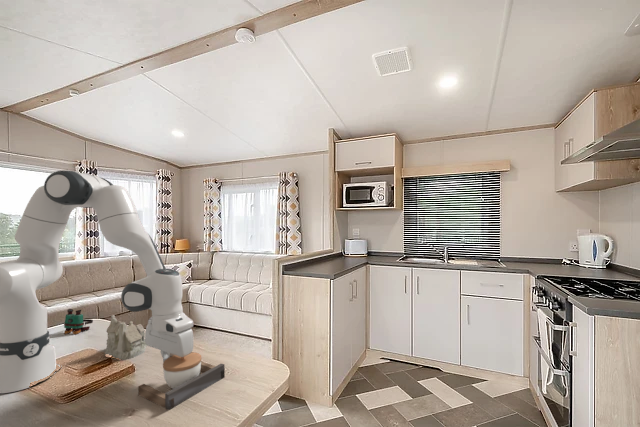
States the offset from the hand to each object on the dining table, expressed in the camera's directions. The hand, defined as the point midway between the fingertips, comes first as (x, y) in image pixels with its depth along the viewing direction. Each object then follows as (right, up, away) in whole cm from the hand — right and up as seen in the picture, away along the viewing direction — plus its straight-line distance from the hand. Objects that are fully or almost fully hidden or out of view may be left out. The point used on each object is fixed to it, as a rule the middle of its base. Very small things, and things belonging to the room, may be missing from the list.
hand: (168, 364), depth 97 cm
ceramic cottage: (-26, -6, +22) cm, 35 cm away
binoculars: (-64, -7, +45) cm, 78 cm away
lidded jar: (+6, -5, -4) cm, 9 cm away
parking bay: (+6, -5, -4) cm, 8 cm away
